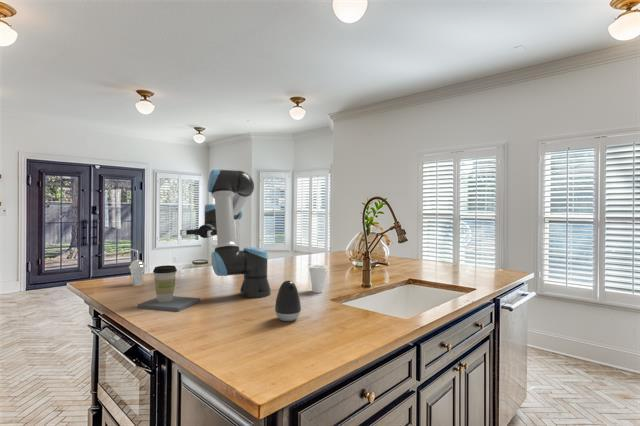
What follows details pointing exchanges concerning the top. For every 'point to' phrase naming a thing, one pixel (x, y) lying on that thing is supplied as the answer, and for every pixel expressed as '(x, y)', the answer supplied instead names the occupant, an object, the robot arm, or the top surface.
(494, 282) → the top surface
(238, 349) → the top surface
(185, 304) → the mat
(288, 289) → the black egg shaped speaker
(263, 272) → the robot arm
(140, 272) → the cup with straw
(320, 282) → the foam cup
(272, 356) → the top surface
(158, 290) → the coffee cup
